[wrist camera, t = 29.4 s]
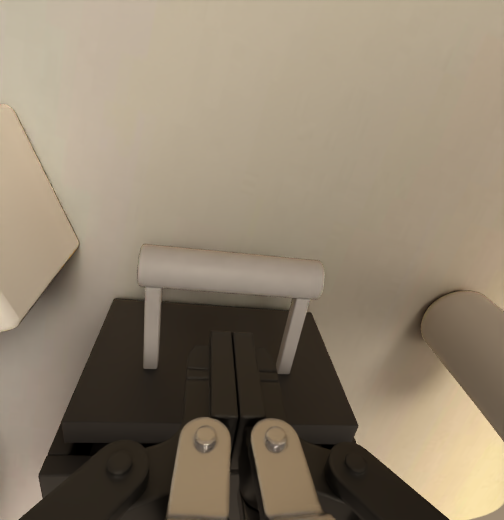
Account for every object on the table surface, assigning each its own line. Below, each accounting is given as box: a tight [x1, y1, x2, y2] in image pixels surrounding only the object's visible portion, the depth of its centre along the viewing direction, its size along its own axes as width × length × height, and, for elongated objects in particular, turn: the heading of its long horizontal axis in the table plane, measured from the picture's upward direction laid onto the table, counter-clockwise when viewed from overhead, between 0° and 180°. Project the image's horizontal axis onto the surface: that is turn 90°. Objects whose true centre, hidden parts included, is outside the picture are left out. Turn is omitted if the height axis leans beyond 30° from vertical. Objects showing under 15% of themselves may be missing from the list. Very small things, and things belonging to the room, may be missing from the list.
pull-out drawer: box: [61, 244, 358, 455], centre depth 19 cm, size 20×11×8 cm, turn 171°
